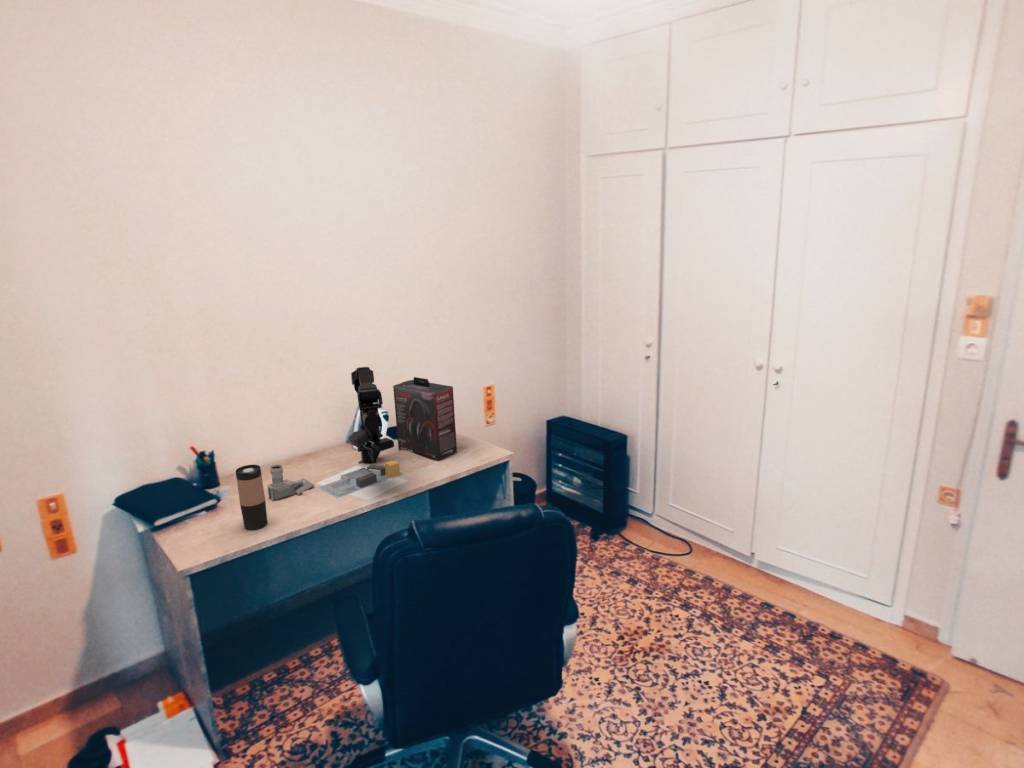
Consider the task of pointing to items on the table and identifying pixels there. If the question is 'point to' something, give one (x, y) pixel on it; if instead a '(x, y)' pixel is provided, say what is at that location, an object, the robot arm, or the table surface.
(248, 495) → the travel mug
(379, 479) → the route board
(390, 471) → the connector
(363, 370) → the robot arm
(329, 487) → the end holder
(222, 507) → the table surface
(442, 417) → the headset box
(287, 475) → the table surface
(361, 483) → the charcoal brick
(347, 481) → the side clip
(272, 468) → the grey angular model part
